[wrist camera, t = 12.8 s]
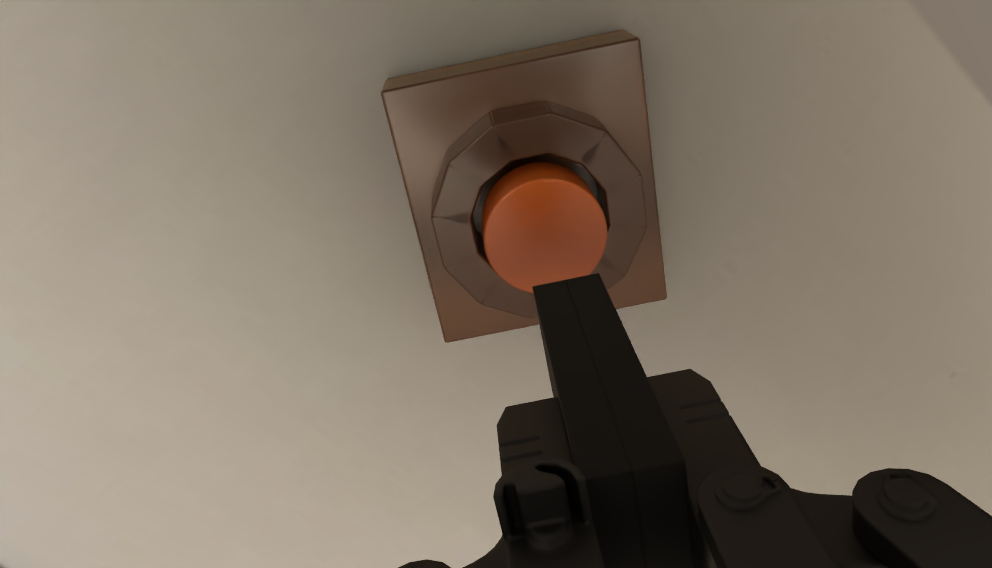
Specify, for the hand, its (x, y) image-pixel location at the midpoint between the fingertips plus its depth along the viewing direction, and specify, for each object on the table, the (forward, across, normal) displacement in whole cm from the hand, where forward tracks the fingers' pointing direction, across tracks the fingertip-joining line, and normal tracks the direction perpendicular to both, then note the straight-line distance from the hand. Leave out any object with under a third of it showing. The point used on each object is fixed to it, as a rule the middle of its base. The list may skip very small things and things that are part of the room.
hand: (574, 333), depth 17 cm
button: (+7, 0, 0) cm, 7 cm away
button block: (+11, 0, 0) cm, 11 cm away
